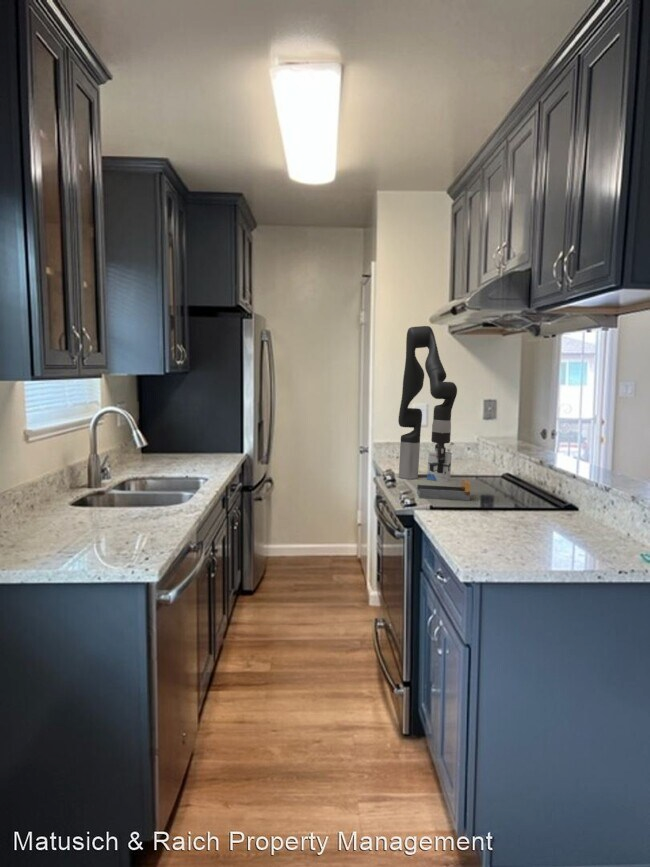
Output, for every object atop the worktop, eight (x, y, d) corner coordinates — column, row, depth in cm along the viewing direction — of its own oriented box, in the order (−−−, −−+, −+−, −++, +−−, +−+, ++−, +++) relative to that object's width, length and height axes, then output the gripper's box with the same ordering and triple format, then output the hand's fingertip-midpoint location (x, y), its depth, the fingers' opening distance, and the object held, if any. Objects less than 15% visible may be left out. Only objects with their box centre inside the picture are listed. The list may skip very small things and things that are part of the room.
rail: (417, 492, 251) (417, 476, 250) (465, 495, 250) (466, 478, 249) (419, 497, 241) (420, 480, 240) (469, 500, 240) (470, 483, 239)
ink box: (426, 480, 245) (428, 451, 243) (430, 478, 249) (431, 450, 248) (446, 482, 241) (448, 453, 239) (450, 480, 245) (452, 452, 244)
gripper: (430, 428, 250) (427, 468, 252) (434, 432, 236) (431, 474, 237) (448, 429, 250) (445, 469, 251) (453, 433, 235) (450, 475, 237)
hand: (438, 471), depth 244 cm, fingers closed on ink box, 6 cm apart
